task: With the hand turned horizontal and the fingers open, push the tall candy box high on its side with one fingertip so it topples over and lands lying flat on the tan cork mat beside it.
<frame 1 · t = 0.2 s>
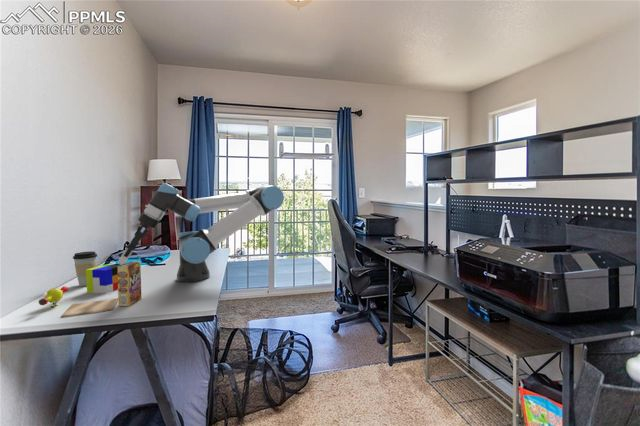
hand: (122, 260, 136), 14 cm above the table, tool tilted 35°, fingers open, 13 cm apart
cork mat: (92, 307, 120), on the table
coffee cup: (87, 285, 153), on the table
toy figure: (54, 306, 123), on the table
puzzle toy: (106, 290, 144), on the table
candy box: (130, 303, 125), on the table
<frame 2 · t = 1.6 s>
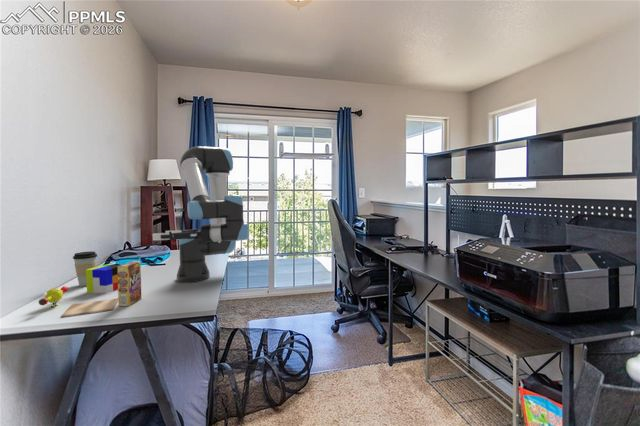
hand: (159, 235, 136), 24 cm above the table, tool horizontal, fingers open, 13 cm apart
nothing on the table moved.
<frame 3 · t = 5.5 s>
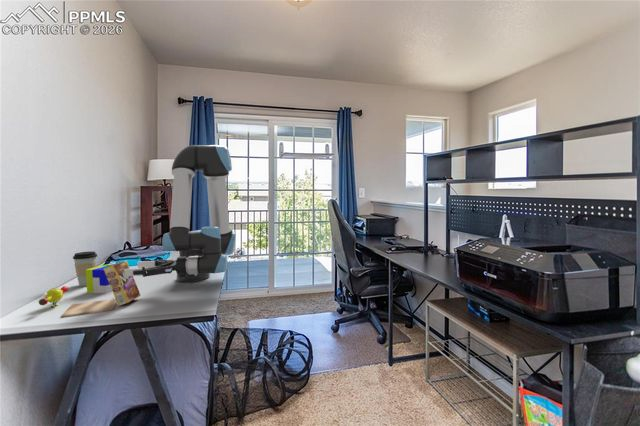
hand: (131, 268, 130), 12 cm above the table, tool horizontal, fingers open, 13 cm apart
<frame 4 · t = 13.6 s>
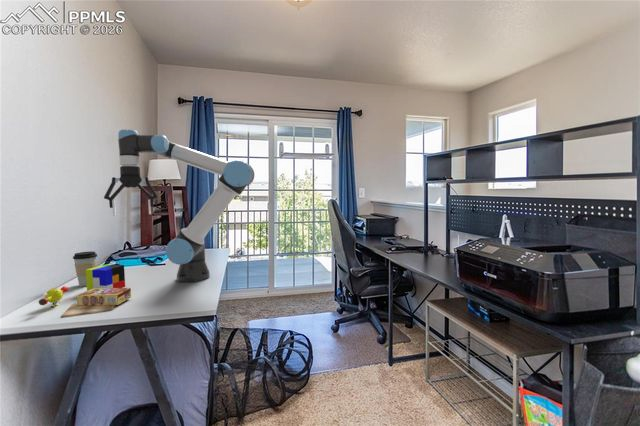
hand: (132, 214, 143), 33 cm above the table, tool pointing down, fingers open, 13 cm apart
candy box: (125, 295, 125), point 3 cm above the table, touching cork mat
everything else where it was.
at the end: candy box tilted 91°; candy box touching cork mat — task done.
